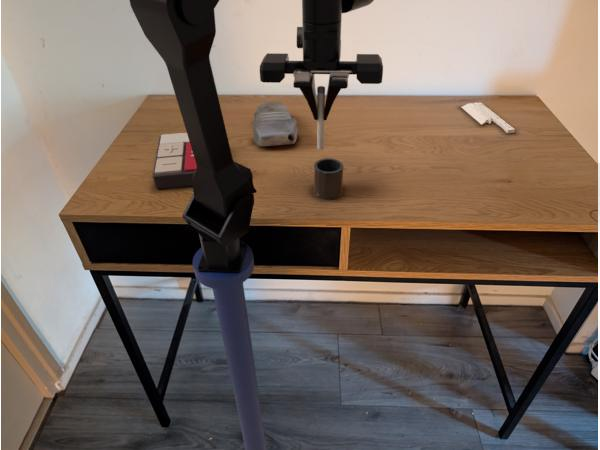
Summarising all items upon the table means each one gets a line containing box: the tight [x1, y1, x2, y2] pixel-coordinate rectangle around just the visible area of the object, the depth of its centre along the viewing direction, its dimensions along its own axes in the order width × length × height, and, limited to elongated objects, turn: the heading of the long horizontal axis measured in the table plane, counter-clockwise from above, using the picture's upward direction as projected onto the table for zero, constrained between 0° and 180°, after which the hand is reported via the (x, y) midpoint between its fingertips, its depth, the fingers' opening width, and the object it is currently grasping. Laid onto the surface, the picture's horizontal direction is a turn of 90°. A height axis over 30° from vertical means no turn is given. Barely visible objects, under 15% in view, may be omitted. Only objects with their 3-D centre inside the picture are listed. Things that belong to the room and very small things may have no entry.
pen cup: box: [313, 157, 345, 201], centre depth 77 cm, size 5×5×6 cm
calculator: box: [152, 132, 197, 190], centre depth 85 cm, size 11×4×15 cm
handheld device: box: [252, 101, 299, 147], centre depth 97 cm, size 10×20×5 cm, turn 8°
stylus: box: [316, 85, 326, 151], centre depth 73 cm, size 1×1×11 cm
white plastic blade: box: [461, 101, 516, 134], centre depth 100 cm, size 5×15×1 cm, turn 10°
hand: (320, 119), depth 73 cm, fingers closed on stylus, 1 cm apart
